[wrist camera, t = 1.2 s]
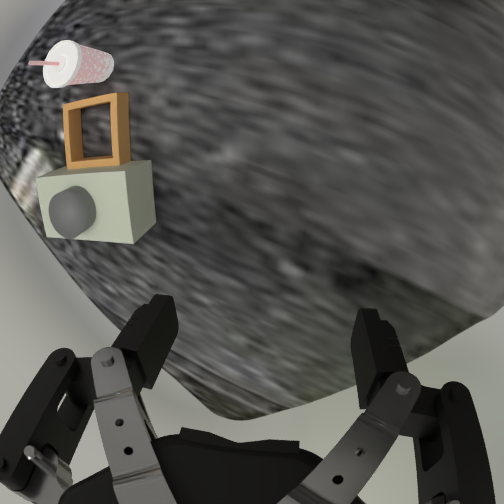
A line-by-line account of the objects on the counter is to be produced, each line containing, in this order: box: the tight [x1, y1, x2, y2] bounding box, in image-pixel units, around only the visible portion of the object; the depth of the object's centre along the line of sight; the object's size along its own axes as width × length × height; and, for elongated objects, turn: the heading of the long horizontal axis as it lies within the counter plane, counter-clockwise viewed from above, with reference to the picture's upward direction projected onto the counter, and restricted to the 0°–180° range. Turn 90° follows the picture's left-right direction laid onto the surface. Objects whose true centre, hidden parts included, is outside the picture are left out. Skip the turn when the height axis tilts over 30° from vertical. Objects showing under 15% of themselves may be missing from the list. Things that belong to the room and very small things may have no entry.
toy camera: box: [36, 93, 156, 244], centre depth 32 cm, size 19×16×10 cm
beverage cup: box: [29, 40, 114, 88], centre depth 24 cm, size 6×6×14 cm
